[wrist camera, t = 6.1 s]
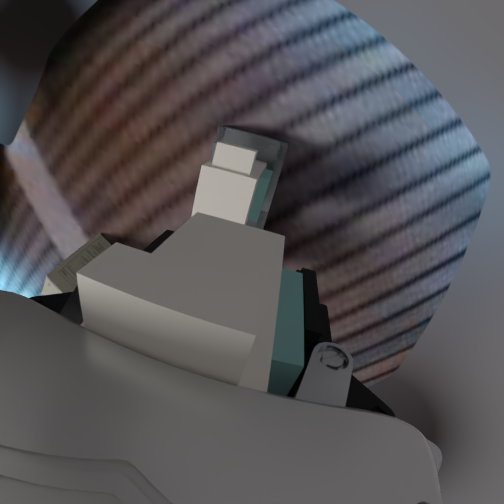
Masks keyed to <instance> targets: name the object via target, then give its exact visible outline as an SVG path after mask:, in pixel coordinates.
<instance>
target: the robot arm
mask: <svg viewBox="0 0 504 504" xmlns="http://www.w3.org/2000/svg"><path fill="white" fill-rule="evenodd" d="M173 233H174V231H171V230H166V231H165V232H164V233H163V234H162V235H160V236H159V237H158V238H157V239H156V240H154V241H153V242H152V243H151V244H150V245H149V246H148V247H146V248H145V249H144V250H143V251H145V252H148V253H152V252H153V251H155V250H156V249H157V248H158V247H159V246H160V245H161V244H162V243H163V242H164V241H165V240H166V239H168V238H169V237H170V236H171V235H172V234H173ZM296 272H299V273H302V274H303V306H304V367H303V369H302V371H301V373H300V374H299V376H298V378H297V379H296V381H295V383H294V384H293V386H292V388H291V389H290V391H289V393H288V394H287V396H282V395H278V394H273V393H269V392H264V391H260V390H256V389H252V388H248V387H244V386H240V385H238V386H237V385H233V384H230V383H226V382H223V381H219V380H216V379H212V378H209V377H206V376H203V375H199V374H196V373H193V372H190V371H187V370H184V369H181V368H178V367H176V366H173V365H170V364H167V363H164V362H162V361H159V360H157V359H154V358H151V357H149V356H146V355H144V354H141V353H139V352H136V351H134V350H132V349H129V348H127V347H125V346H122V345H120V344H118V343H116V342H113V341H111V340H109V339H107V338H105V337H102V336H100V335H98V334H96V333H94V332H92V331H90V330H88V329H86V328H85V327H83V326H81V324H82V322H83V315H82V310H81V304H80V297H79V290H78V285H77V286H76V288H75V289H74V291H73V292H66V293H58V294H50V295H43V296H35V297H31V298H27V297H25V296H22V295H19V294H16V293H13V292H8V291H2V290H0V504H442V499H441V491H440V486H439V480H438V475H437V473H438V471H439V468H440V466H441V462H442V453H441V451H440V449H439V448H438V447H437V446H436V445H435V444H433V443H432V442H430V441H429V440H427V439H426V438H424V436H423V434H422V433H420V431H419V430H418V429H416V428H415V427H413V426H412V425H410V424H408V423H406V422H404V421H402V420H399V419H397V418H395V415H394V413H393V411H392V410H391V409H390V408H389V407H388V406H387V405H386V404H385V403H384V402H383V401H381V400H380V399H379V398H378V397H377V396H376V395H375V394H373V393H372V392H371V391H370V390H369V389H368V388H366V387H365V386H364V385H363V384H362V383H361V382H360V381H359V380H357V379H356V378H355V377H354V376H353V375H352V368H353V360H352V357H351V355H350V354H349V353H348V351H347V350H345V349H344V348H343V347H341V346H339V345H337V344H334V343H332V339H331V331H330V324H329V317H328V310H327V306H326V305H324V304H320V303H319V295H318V287H317V279H316V272H315V271H313V270H309V269H305V268H302V270H301V271H300V270H297V271H296Z"/></svg>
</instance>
